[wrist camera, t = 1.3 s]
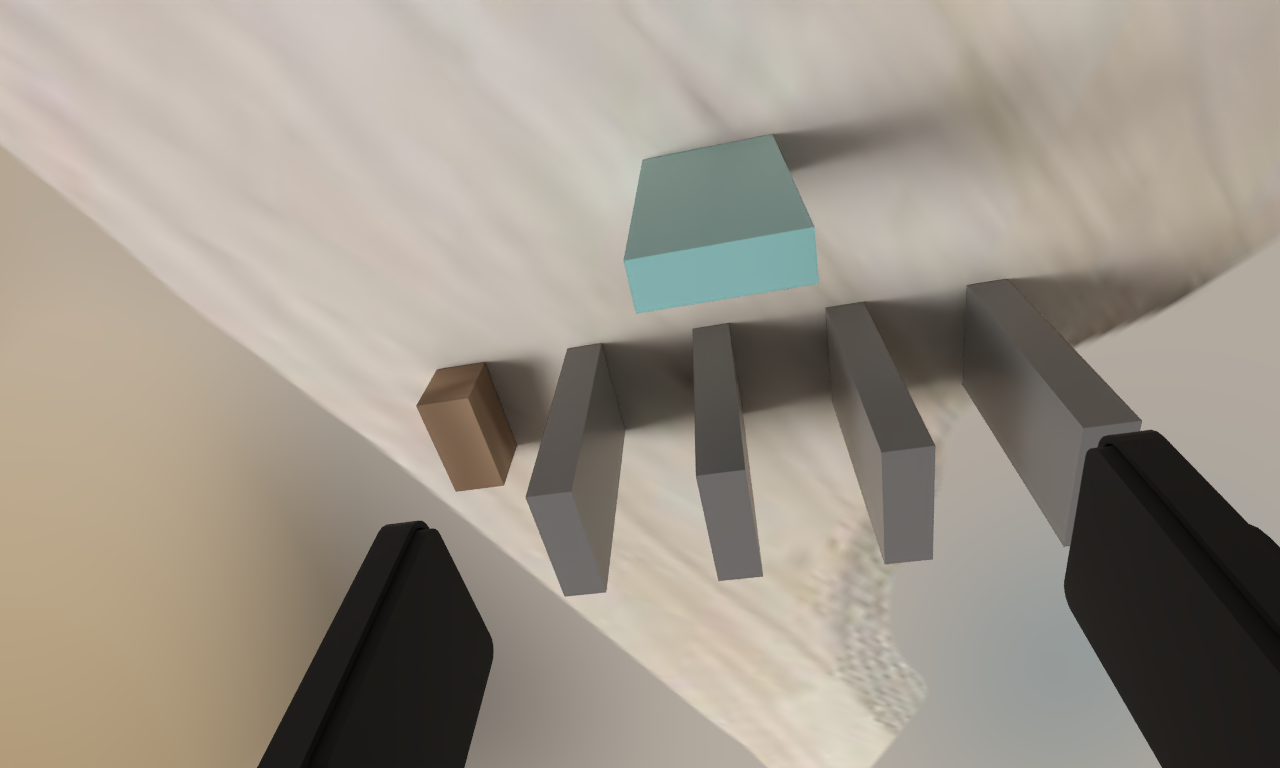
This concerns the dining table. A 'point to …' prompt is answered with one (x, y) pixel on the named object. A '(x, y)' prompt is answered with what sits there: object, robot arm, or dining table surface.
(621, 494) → the dining table surface
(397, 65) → the dining table surface
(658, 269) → the teal domino
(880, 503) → the domino
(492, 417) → the end block
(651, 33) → the dining table surface
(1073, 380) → the domino
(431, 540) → the robot arm
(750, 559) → the domino
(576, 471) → the domino
